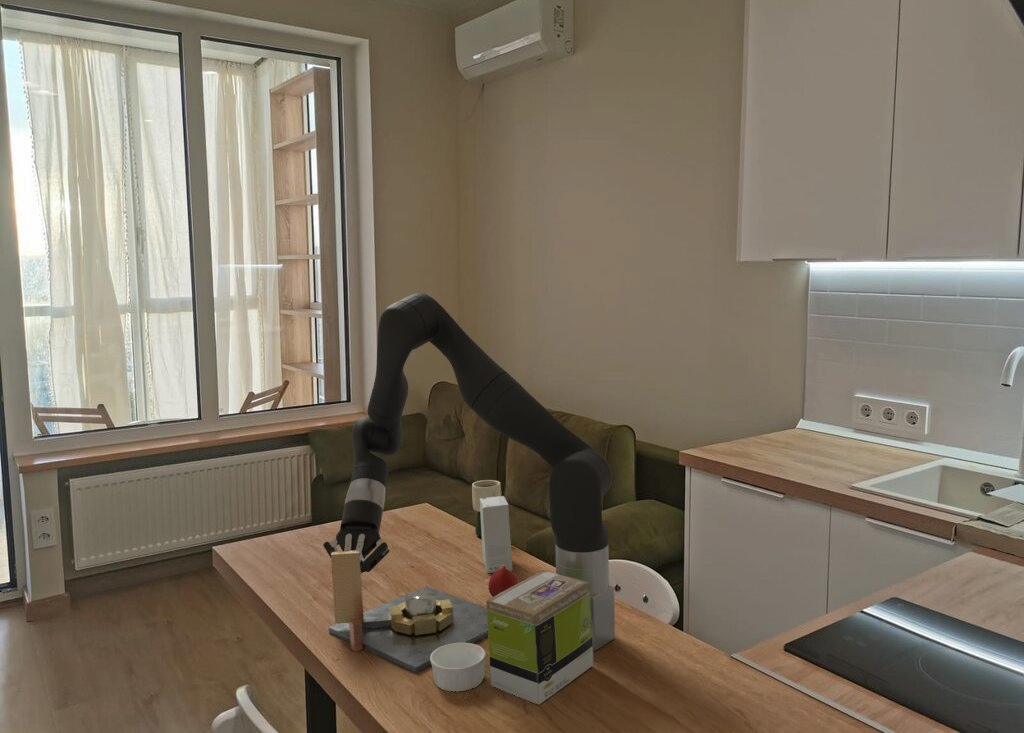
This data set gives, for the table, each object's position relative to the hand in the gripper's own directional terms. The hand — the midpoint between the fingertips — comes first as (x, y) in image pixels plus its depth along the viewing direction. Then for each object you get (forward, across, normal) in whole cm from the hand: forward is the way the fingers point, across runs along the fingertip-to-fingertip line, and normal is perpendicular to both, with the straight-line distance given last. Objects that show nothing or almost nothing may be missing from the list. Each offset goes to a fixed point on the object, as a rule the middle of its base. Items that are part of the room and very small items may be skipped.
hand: (348, 592), depth 148 cm
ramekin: (+17, -23, +7) cm, 30 cm away
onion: (-3, -27, -14) cm, 31 cm away
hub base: (+4, -13, -6) cm, 15 cm away
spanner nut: (+3, -9, -5) cm, 11 cm away
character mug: (-32, -19, -43) cm, 57 cm away
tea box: (+16, -37, +6) cm, 40 cm away
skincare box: (-18, -23, -28) cm, 41 cm away
